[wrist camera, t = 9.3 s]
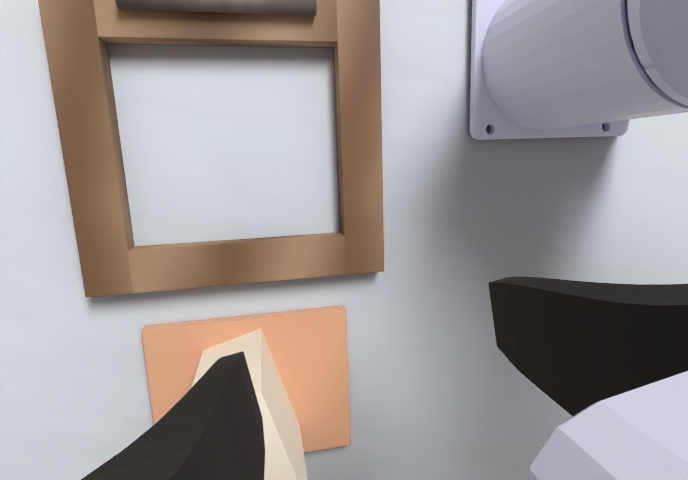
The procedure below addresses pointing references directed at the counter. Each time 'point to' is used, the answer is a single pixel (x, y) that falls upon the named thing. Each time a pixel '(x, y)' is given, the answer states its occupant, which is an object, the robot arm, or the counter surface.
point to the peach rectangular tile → (288, 354)
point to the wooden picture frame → (106, 156)
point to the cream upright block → (266, 405)
